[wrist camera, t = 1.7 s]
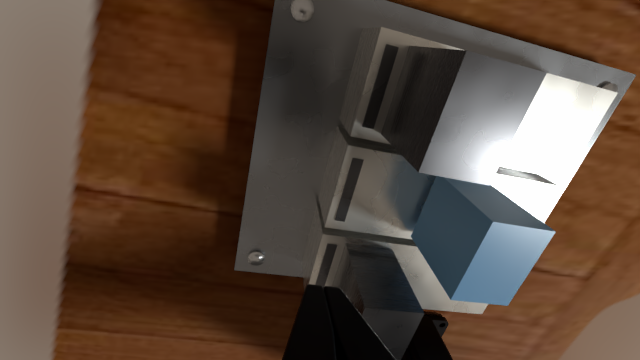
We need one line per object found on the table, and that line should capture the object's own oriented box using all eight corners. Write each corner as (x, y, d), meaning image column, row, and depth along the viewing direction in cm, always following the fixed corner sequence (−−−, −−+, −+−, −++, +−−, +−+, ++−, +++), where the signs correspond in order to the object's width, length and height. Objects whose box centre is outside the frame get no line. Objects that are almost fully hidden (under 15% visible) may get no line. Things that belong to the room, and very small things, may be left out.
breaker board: (485, 282, 24) (580, 399, 16) (237, 254, 20) (209, 387, 13) (609, 71, 17) (861, 100, 10) (279, -25, 14) (274, -99, 6)
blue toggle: (455, 242, 15) (507, 305, 12) (410, 236, 15) (450, 300, 11) (486, 181, 14) (555, 231, 10) (437, 172, 14) (493, 221, 10)
